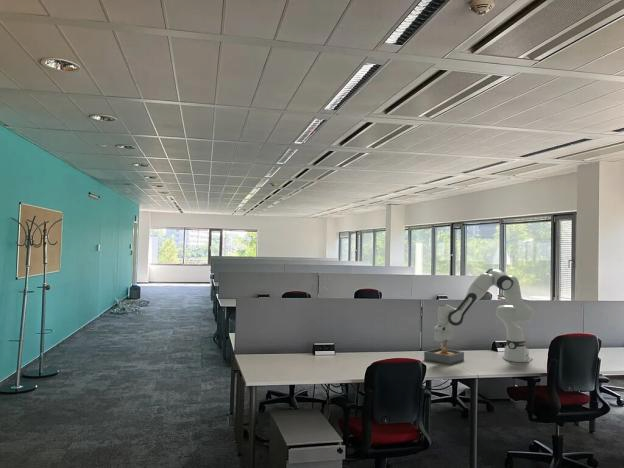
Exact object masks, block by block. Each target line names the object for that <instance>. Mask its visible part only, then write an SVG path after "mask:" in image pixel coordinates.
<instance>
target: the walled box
mask: <svg viewBox="0 0 624 468" xmlns="http://www.w3.org/2000/svg"><path fill="white" fill-rule="evenodd" d="M423 353H424V354H423V356H424V357H423V360H424V361H427V362H433V363H438V364H443V365H448V366H451V365H455V364H456V363H457V364H458V363H461V362H464V361H465V352H464V351H460V350H454V349H448V348H447V353H442V352H441V347H437V348H433V349H429V350H425V351H424V352H423Z"/></svg>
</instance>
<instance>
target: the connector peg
mask: <svg viewBox="0 0 624 468" xmlns="http://www.w3.org/2000/svg"><path fill="white" fill-rule="evenodd" d="M443 344H444V347H441V346H440V348H441V352H442V353H447V349H448V346H447V340H444V341H443Z"/></svg>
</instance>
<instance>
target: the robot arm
mask: <svg viewBox="0 0 624 468" xmlns="http://www.w3.org/2000/svg"><path fill="white" fill-rule="evenodd" d="M492 286H493V287H494V286H495V287H497V288H498V289H499V290H502V291H503V297H504V301H505V302H506V303H507V304H503V305H499V306H497V308H496V310H495V315H496V316H497V318H498V319H499V320H501V322H502V323H503V324H504V326H505V329H506V341H505V343H506V346H504V353H503V356H502V359H504V360H506V361H509V362H514V363H530V362H531V360H533V357H532V356H530V351H529V349H528V348H527V347H526V342H527V341H526V340H524V337H525V336H524V330H523V328H522V327H521V326H519V325H517V324H516V323H515V322H523V323H527V322H532V321H533V320H534V319H535V311H534V309H533V308H532V307H530V306H529V305H527V303H525V302H524V300H523V297H522V294H521V286H520V283H519V280H518V278H517V277H516V276H514V275H508V274H507V273H505V272H504V271H502V270H501V269H499V268H497V267H491V268H489V269H488V270H486V271H485V272H482V273H481V274H479V275H478V276H477V277H476V278H475V279H474V280H473V282H472V283H471V285H470V286H469V287H468V288H467V292H466V295H465V297H464V299H463V300H462V301H461V303H460V304H459V306H458V307H456V308H455V307H454V306H451V305H450V304H447V303H444V304H440V305H439V306H438V308H437V324H436V325H435V326H434V327H433V330H434V332H433V333H434V334H433V336H434V337H433V338H434V341H435V342H439V344H440V348H441V347H444V344H443V341H444V340H447V347H448V346H449V345H448V344H449V340H452V339H453V338H454V330H453V327H454V326H460V325H461V324H462V323H463V321H464V318H465V315H466V313H467V312H468V311H469V309H471V307H472V306H473V305H474V304H475V303H476V302H478V301H479V300H481V298H483V297H484V295H486V293H487V292H489V290H490V288H491V287H492ZM451 325H452V326H453V327H452V326H451Z"/></svg>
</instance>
